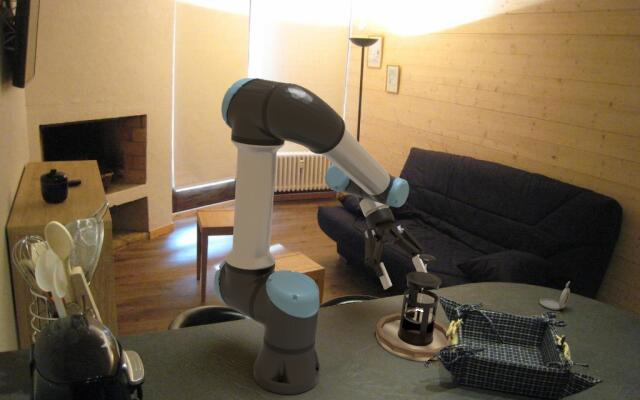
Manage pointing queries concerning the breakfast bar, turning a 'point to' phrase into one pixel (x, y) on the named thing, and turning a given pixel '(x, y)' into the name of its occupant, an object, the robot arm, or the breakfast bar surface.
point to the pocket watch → (554, 304)
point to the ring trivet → (396, 346)
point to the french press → (419, 307)
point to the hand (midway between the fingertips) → (407, 282)
